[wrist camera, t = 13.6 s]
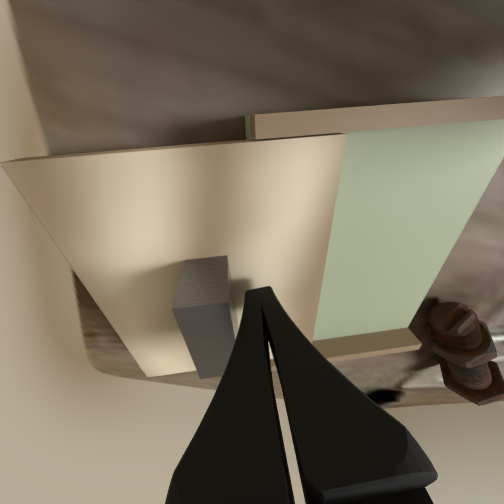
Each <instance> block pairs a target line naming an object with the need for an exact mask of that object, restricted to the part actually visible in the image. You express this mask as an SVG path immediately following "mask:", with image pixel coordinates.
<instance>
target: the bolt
mask: <svg viewBox="0 0 504 504" xmlns="http://www.w3.org/2000/svg"><path fill="white" fill-rule="evenodd" d="M429 321H430V323H428V324H427V331H428V336H429V340H430V344H431V348H432V350H433V352H434V353H436V354H438V355H439V356H441V357H443V358H442V359H440V360H439V363H440V367H441V372H442V376H443V381H444V384H445V386H446V387H447V388H449V389H450V390H452V391H454V392H455V393H457V394H459V395H460V396H462V397H464V398H465V399H467V400H469V401H471V402H473V403H475V404H477V405H479V406H480V405H485V404H489V403H492V402H495V401H498V400H501V399H503V398H504V380H503V378H502V375H501V372H500V370H499V367H498V364H497V363H495V362H493V361H491V360H492V359H494V358H496V357H497V351H496V348H495V345H494V343H493V340H492V337H491V335H490V332H489V330H488V327H487V325H486V324H485V323H483V322H480V321H479V320H478V318H477V315H476V313H475V312H474V311H473V310H472V309H470V310H469V309H468V308H467V306H465V305H463V304H460V303H456V302H445V303H441V304H438V305H436V306H434V307H433V308H432V309H431V310H430V312H429Z"/></svg>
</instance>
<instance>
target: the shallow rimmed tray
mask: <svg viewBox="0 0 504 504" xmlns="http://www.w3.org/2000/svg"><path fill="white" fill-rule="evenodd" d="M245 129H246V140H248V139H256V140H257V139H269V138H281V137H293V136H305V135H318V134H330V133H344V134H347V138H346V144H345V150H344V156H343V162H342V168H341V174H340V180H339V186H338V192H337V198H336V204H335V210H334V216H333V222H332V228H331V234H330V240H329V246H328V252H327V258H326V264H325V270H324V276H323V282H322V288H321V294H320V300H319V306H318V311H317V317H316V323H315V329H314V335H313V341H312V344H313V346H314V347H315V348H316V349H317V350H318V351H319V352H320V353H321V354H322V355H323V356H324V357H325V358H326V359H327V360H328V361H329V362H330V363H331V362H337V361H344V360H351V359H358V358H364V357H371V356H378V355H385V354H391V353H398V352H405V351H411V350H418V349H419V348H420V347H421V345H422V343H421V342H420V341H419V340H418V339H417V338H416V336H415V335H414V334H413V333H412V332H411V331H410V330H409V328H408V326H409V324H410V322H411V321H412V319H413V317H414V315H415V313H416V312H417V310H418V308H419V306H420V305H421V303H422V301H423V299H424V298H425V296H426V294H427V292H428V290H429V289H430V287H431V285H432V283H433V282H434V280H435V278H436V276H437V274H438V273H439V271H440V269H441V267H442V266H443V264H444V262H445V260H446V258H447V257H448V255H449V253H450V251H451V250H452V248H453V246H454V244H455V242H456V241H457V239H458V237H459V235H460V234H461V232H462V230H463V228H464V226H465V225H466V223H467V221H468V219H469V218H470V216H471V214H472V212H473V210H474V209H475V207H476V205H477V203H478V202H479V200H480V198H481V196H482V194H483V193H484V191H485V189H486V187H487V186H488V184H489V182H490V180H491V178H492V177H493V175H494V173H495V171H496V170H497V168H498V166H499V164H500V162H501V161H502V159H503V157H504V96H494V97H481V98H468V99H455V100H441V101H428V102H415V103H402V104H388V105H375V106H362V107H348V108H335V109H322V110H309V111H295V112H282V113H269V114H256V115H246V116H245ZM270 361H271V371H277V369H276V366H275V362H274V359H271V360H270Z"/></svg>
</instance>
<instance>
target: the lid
mask: <svg viewBox="0 0 504 504" xmlns="http://www.w3.org/2000/svg"><path fill="white" fill-rule="evenodd" d="M346 138H347V134H344V133H330V134H318V135H305V136H293V137H281V138H269V139H257V140H256V139H248V140H236V141H224V142H211V143H199V144H187V145H175V146H163V147H151V148H139V149H126V150H114V151H102V152H90V153H78V154H66V155H53V156H41V157H31V158H30V157H29V158H21V159H16V160H11V161H6V162H1V163H0V165H1V166H2V168H3V169H4V170H5V172H6V173H7V175H8V176H9V178H10V179H11V181H12V182H13V183H14V185H15V186H16V188H17V189H18V191H19V192H20V194H21V195H22V197H23V198H24V199H25V201H26V202H27V204H28V205H29V207H30V208H31V210H32V211H33V212H34V214H35V215H36V217H37V218H38V220H39V221H40V223H41V224H42V225H43V227H44V228H45V230H46V231H47V233H48V234H49V235H50V237H51V238H52V240H53V241H54V243H55V244H56V246H57V247H58V249H59V250H60V251H61V253H62V254H63V256H64V257H65V259H66V260H67V262H68V263H69V264H70V266H71V267H72V269H73V270H74V272H75V273H76V275H77V276H78V277H79V279H80V280H81V282H82V283H83V285H84V286H85V288H86V289H87V291H88V292H89V293H90V295H91V296H92V298H93V299H94V301H95V302H96V304H97V305H98V306H99V308H100V309H101V311H102V312H103V314H104V315H105V317H106V318H107V319H108V321H109V322H110V324H111V325H112V327H113V328H114V330H115V331H116V332H117V334H118V335H119V337H120V338H121V340H122V341H123V343H124V344H125V345H126V347H127V348H128V350H129V351H130V353H131V354H132V356H133V357H134V358H135V360H136V361H137V363H138V364H139V366H140V367H141V369H142V370H143V371H144V373H145V374H146V376H147V377H153V376H160V375H167V374H174V373H181V372H188V371H195V370H197V372H198V375H199V377H200V379H204V378H211V377H217V376H223V374H224V371H225V369H226V366H227V364H228V361H229V358H230V355H231V353H232V350H233V347H234V343H235V340H236V337H237V333H238V330H239V326H240V321H241V317H242V312H243V307H244V299H245V292H246V291H247V290H251V289H256V288H261V287H266V286H270V287H272V289H273V291H274V293H275V295H276V297H277V299H278V300H279V302H280V304H281V305H282V307H283V308H284V310H285V311H286V312H287V314H288V315H289V317H290V318H291V319H292V321H293V322H294V323H295V324H296V326H297V327H298V328H299V329H300V331H301V332H302V333H303V334H304V335H305V337H306V338H307V339H308V340H309V341H310V342H311V343H312V341H313V335H314V329H315V323H316V317H317V311H318V306H319V300H320V294H321V288H322V282H323V276H324V270H325V264H326V258H327V252H328V246H329V240H330V234H331V228H332V222H333V216H334V210H335V204H336V198H337V192H338V186H339V180H340V174H341V168H342V162H343V156H344V150H345V144H346ZM268 343H269V341H268ZM269 352H270V360H271V359H273V355H272V352H271V348H270V345H269Z"/></svg>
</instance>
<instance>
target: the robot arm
mask: <svg viewBox="0 0 504 504" xmlns="http://www.w3.org/2000/svg"><path fill="white" fill-rule="evenodd" d="M268 341H269V343H268ZM269 345H270V348H271V352H272V355H273V359H274V362H275V366H276V369H277V372H278V376H279V379H280V383H281V387H282V392H283V397H284V401H285V406H286V411H287V416H288V421H289V425H290V430H291V435H292V440H293V444H294V449H295V454H296V459H297V464H298V469H299V474H300V479H301V483H302V488H303V493H304V498H305V503H306V504H433V502H432V500H431V498H430V496H429V494H428V492H427V491H426V489H425V487H426V486H428V485H429V484H431V483H432V482H434V481H435V480H437V476H438V474H437V472H436V470H435V469H434V467H433V465H432V463H431V461H430V460H429V458H428V457H427V455H426V454H425V452H424V451H423V450H422V448H421V447H420V445H419V444H418V443H417V441H416V440H415V439H414V437H413V436H412V435H411V434H410V432H409V431H408V430H407V429H406V427H405V426H404V425H402V424H401V423H400V422H399V421H397V420H396V419H395V418H394V417H392V416H391V415H390V414H388V413H387V412H386V411H385V410H384V409H382V408H381V407H380V406H379V405H377V404H376V403H375V402H374V401H372V400H371V399H370V398H369V397H368V396H367V395H365V394H364V393H363V392H362V391H361V390H360V389H358V388H357V387H356V386H355V385H354V384H353V383H352V382H350V381H349V380H348V379H347V378H346V377H345V376H344V375H343V374H342V373H341V372H340V371H339V370H337V369H336V368H335V367H334V366H333V365H332V364H331V363H330V362H329V361H328V360H327V359H326V358H325V357H324V356H323V355H322V354H321V353H320V352H319V351H318V350H317V349H316V348H315V347H314V346H313V344H312V343H311V342H310V341H309V340H308V339H307V338H306V337H305V335H304V334H303V333H302V332H301V331H300V329H299V328H298V327H297V326H296V324H295V323H294V322H293V321H292V319H291V318H290V317H289V315H288V314H287V312H286V311H285V310H284V308H283V307H282V305H281V304H280V302H279V300H278V299H277V297H276V295H275V293H274V291H273V289H272V287H270V286H266V287H261V288H256V289H251V290H247V291H246V292H245V299H244V307H243V312H242V317H241V321H240V326H239V330H238V333H237V337H236V340H235V343H234V347H233V350H232V353H231V355H230V358H229V361H228V364H227V366H226V369H225V371H224V374H223V376H222V379H221V381H220V383H219V386H218V388H217V390H216V393H215V395H214V397H213V399H212V401H211V403H210V405H209V407H208V409H207V411H206V413H205V415H204V417H203V419H202V421H201V423H200V426H199V427H198V429H197V431H196V433H195V435H194V437H193V438H192V440H191V442H190V444H189V446H188V447H187V449H186V451H185V453H184V455H183V456H182V458H181V460H180V462H179V464H178V465H177V467H176V469H175V471H174V473H173V476H172V479H171V483H170V486H169V490H168V494H167V498H166V502H165V504H295V501H294V496H293V490H292V485H291V480H290V475H289V469H288V464H287V459H286V453H285V448H284V443H283V437H282V431H281V427H280V421H279V415H278V410H277V404H276V399H275V393H274V387H273V380H272V371H271V361H270V352H269Z"/></svg>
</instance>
